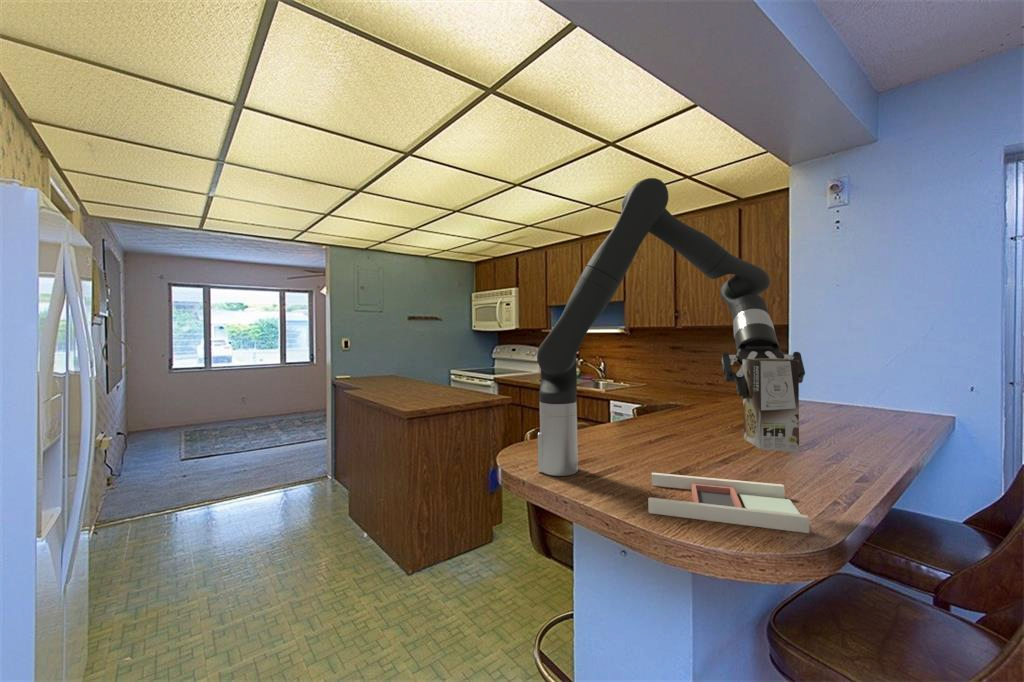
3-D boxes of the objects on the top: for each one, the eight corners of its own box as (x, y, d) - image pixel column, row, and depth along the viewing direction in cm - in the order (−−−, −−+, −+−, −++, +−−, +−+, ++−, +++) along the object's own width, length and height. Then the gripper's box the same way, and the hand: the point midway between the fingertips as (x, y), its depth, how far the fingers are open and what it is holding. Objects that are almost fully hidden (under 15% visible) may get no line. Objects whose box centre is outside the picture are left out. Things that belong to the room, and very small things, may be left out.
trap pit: (695, 515, 74) (694, 506, 74) (691, 490, 87) (691, 483, 87) (744, 521, 72) (744, 512, 72) (733, 494, 84) (733, 487, 84)
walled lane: (648, 513, 76) (648, 499, 76) (652, 483, 91) (651, 472, 91) (809, 533, 67) (808, 518, 67) (783, 496, 82) (782, 484, 82)
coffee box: (801, 452, 71) (800, 359, 71) (760, 450, 72) (759, 359, 72) (778, 439, 80) (777, 357, 80) (742, 438, 81) (741, 357, 81)
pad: (750, 520, 72) (750, 518, 72) (739, 496, 83) (739, 494, 83) (809, 527, 69) (809, 525, 69) (789, 501, 80) (789, 499, 80)
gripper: (718, 323, 87) (726, 383, 76) (797, 320, 82) (818, 385, 71) (716, 347, 92) (723, 407, 81) (790, 346, 87) (809, 410, 76)
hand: (767, 396), depth 76 cm, fingers closed on coffee box, 7 cm apart
